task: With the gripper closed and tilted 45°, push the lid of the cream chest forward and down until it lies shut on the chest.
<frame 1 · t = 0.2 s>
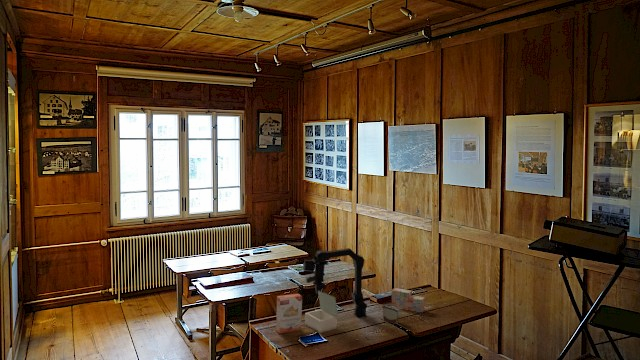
hand: (317, 295, 287), 15 cm above the table, tool pointing down, fingers closed
cracker box: (288, 330, 268), on the table
food container: (392, 322, 285), on the table
chest lid: (327, 303, 278), point 13 cm above the table, hinge at 77.3°, touching gripper
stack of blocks: (407, 309, 309), on the table
chest: (320, 326, 276), on the table
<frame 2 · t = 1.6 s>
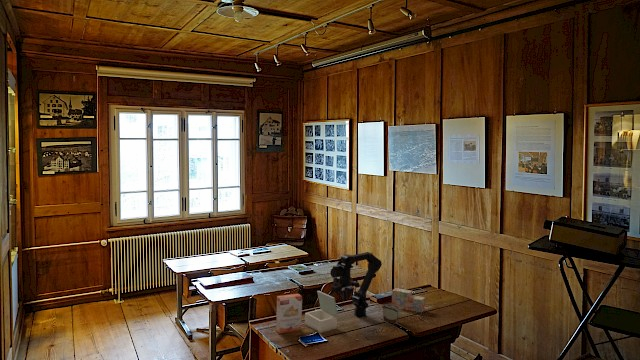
hand: (345, 299, 286), 13 cm above the table, tool pointing down, fingers open, 3 cm apart
chest lid: (327, 303, 278), point 13 cm above the table, hinge at 75.1°
everything else where it was.
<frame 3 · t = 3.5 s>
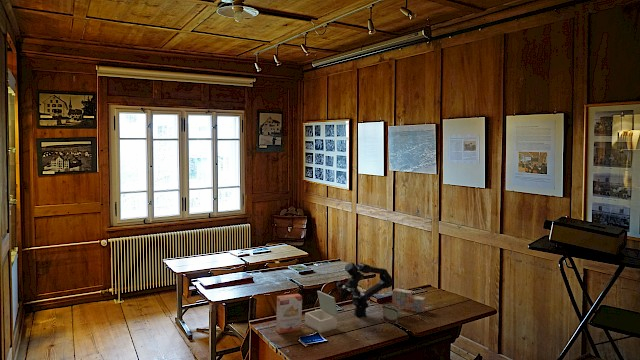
hand: (340, 300, 284), 13 cm above the table, tool tilted 45°, fingers closed
nothing on the table moved.
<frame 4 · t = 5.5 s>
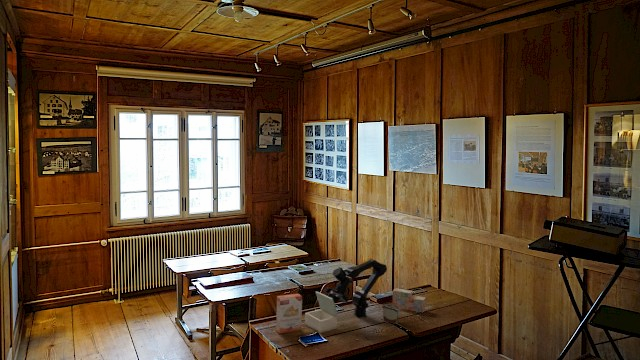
hand: (328, 305, 278), 12 cm above the table, tool tilted 45°, fingers closed, pressing on chest lid
chest lid: (326, 303, 277), point 13 cm above the table, hinge at 69.0°, touching gripper
everything else where it was.
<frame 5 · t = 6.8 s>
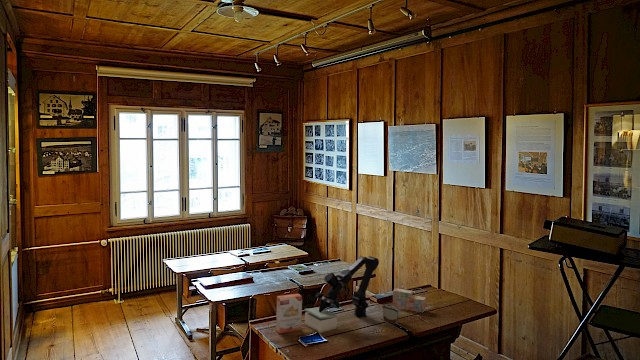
hand: (319, 311, 274), 9 cm above the table, tool tilted 45°, fingers closed, pressing on chest lid
chest lid: (320, 312, 275), point 8 cm above the table, hinge at 6.8°, touching gripper
everything else where it was.
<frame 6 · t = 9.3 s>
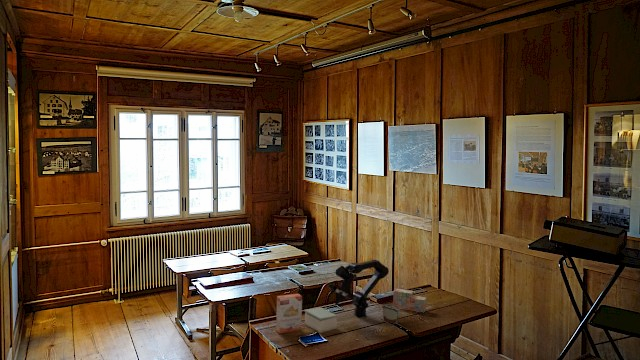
hand: (336, 304, 282), 11 cm above the table, tool tilted 35°, fingers closed
chest lid: (320, 313, 275), point 8 cm above the table, hinge at 3.3°
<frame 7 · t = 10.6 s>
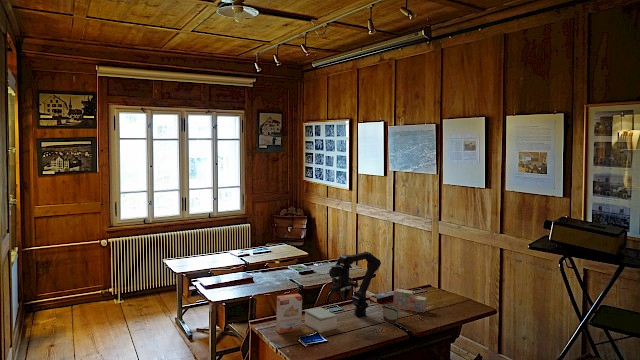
hand: (344, 300, 285), 13 cm above the table, tool pointing down, fingers closed
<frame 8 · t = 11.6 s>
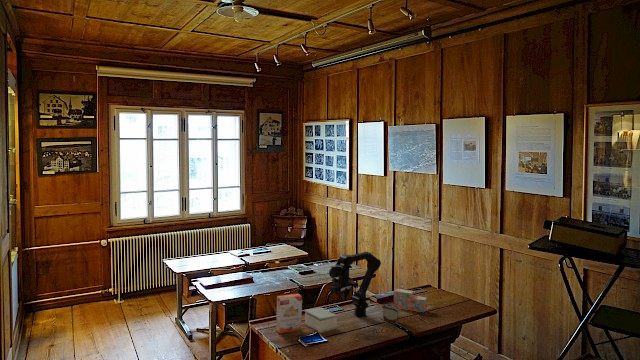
hand: (344, 300, 285), 13 cm above the table, tool pointing down, fingers closed
at the end: chest lid at +3° (first picture: +78°) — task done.
